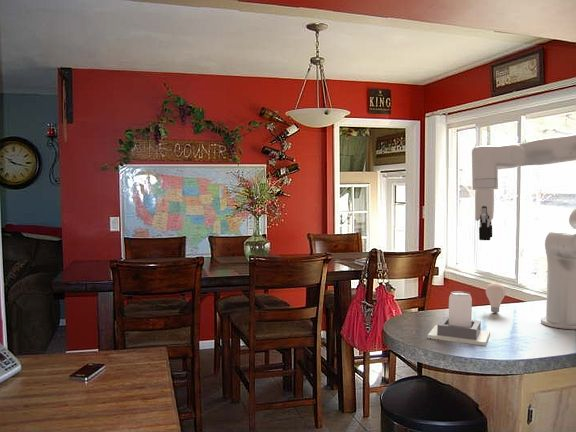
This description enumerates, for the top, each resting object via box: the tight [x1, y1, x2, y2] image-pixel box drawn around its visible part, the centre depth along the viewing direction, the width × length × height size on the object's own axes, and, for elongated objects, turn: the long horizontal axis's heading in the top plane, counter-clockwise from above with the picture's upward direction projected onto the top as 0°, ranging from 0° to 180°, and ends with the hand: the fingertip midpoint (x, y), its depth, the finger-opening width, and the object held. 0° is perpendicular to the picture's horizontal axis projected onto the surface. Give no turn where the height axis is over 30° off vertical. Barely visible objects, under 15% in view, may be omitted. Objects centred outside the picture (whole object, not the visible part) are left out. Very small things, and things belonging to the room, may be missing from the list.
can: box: [448, 290, 473, 328], centre depth 148 cm, size 6×6×12 cm
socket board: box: [427, 316, 491, 347], centre depth 148 cm, size 16×13×4 cm
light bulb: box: [485, 282, 506, 314], centre depth 178 cm, size 7×7×11 cm
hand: (485, 238), depth 158 cm, fingers open, 9 cm apart
